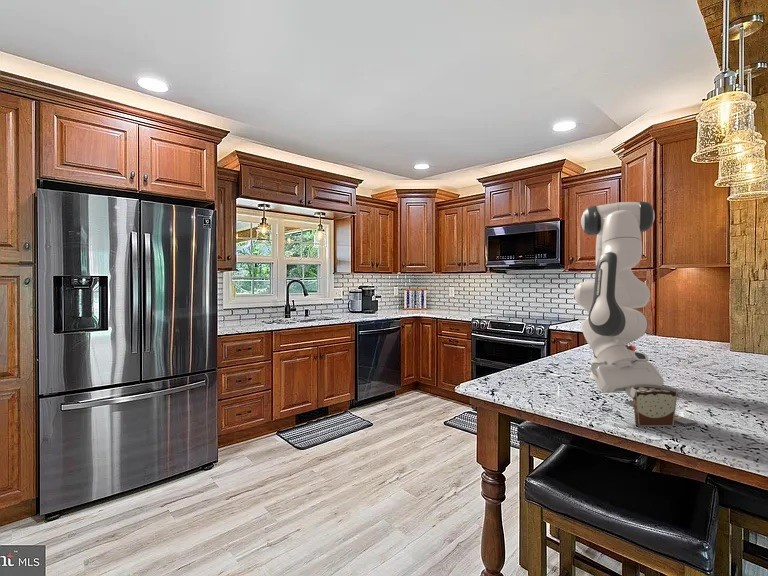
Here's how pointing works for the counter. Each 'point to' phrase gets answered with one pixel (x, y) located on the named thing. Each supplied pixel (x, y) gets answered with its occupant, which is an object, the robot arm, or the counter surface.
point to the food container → (654, 404)
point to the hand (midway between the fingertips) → (643, 403)
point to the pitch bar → (677, 418)
